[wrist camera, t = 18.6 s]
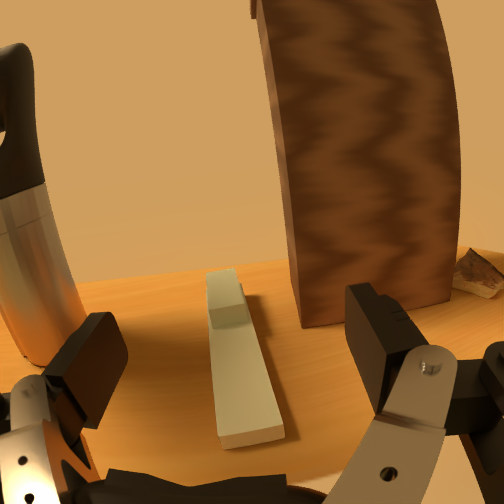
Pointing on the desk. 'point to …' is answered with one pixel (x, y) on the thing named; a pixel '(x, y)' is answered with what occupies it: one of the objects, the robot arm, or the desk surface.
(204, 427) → the desk surface
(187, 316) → the desk surface
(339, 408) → the desk surface
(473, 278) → the shard
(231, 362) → the cream plank with block
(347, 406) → the desk surface
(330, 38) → the walnut stand
